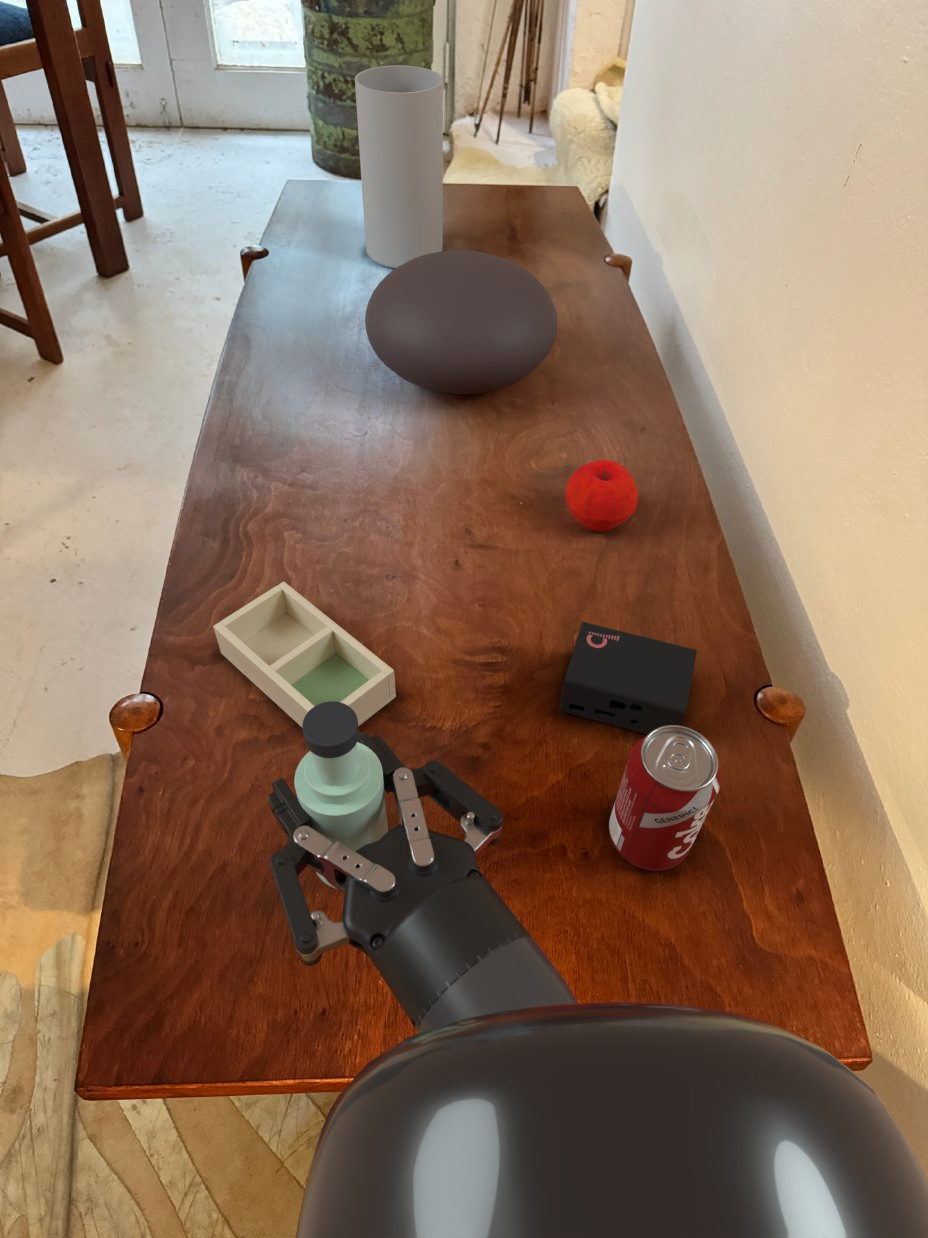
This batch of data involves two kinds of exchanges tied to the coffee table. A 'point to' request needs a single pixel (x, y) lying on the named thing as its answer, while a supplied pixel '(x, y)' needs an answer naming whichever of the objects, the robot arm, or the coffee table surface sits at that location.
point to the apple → (601, 495)
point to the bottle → (340, 779)
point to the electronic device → (627, 679)
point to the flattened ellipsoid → (461, 322)
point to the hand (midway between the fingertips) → (320, 764)
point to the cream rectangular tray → (303, 656)
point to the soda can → (664, 797)
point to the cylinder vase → (401, 161)
